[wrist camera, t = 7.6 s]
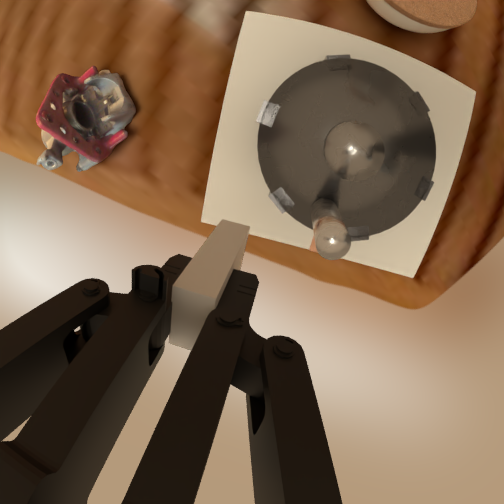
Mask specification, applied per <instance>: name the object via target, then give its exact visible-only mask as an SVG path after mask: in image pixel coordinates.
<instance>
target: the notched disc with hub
mask: <svg viewBox="0 0 504 504" xmlns="http://www.w3.org/2000/svg"><path fill="white" fill-rule="evenodd" d="M429 111H430V109H429V108H428V106H427V104H426V103H425V101H424V100H423V98H422V96H421V95H420V93H419V92H418V91H415V92H414V91H413V90H412V89H411V88H410V87H409V86H408V85H407V84H406V83H405V82H404V81H403V80H402V79H400V78H399V77H398V76H397V75H395V74H394V73H392V72H390V71H389V70H387V69H385V68H383V67H381V66H379V65H376V64H374V63H371V62H367V61H364V60H358V59H352V58H351V57H350V54H349V55H327V56H326V57H325V59H324V60H323V61H319V62H316V63H313V64H311V65H308V66H306V67H304V68H302V69H300V70H299V71H297V72H295V73H294V74H292V75H291V76H290V77H289V78H287V79H286V80H285V81H284V82H283V83H282V84H281V85H280V86H279V87H278V88H277V90H276V91H275V92H274V94H273V95H272V97H271V98H270V100H269V101H266V100H264V102H263V104H262V107H261V109H260V112H259V114H258V117H257V119H256V122H259V123H260V125H259V131H258V141H257V150H258V160H259V164H260V168H261V172H262V175H263V177H264V180H265V183H266V184H267V186H268V188H269V190H270V192H269V195H268V197H269V198H270V199H271V200H272V201H273V203H274V204H275V205H276V206H277V208H278V209H279V210H280V211H281V213H282V214H283V213H284V212H287V213H288V214H289V215H290V216H292V217H293V218H294V219H295V220H297V221H298V222H300V223H301V224H303V225H304V226H306V227H308V228H310V229H312V230H313V231H314V238H315V245H316V249H317V252H318V253H319V254H320V255H321V256H322V257H323V258H325V259H328V260H337V259H340V258H342V257H344V256H345V255H346V254H347V253H348V251H349V249H350V247H351V241H361V240H369V236H371V235H375V234H378V233H381V232H383V231H386V230H388V229H390V228H392V227H393V226H395V225H397V224H398V223H400V222H401V221H402V220H404V219H405V218H406V217H408V216H409V215H410V214H411V213H412V212H413V210H414V209H415V208H416V207H417V206H418V204H419V203H420V202H421V200H424V201H425V200H426V198H427V196H428V194H429V192H430V190H431V188H432V186H433V184H434V182H433V181H431V180H432V177H433V173H434V169H435V162H436V141H435V134H434V130H433V126H432V123H431V120H430V117H429V115H428V113H427V112H429Z"/></svg>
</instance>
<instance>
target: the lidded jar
mask: <svg viewBox="0 0 504 504" xmlns="http://www.w3.org/2000/svg"><path fill="white" fill-rule="evenodd" d="M366 1H367V3H368V4H369V5H370V6H371V8H372V9H373V10H374V11H375V12H376V13H377V14H379V15H380V16H381V17H382V18H383V19H385V20H386V21H388V22H389V23H391V24H393V25H395V26H397V27H400V28H402V29H405V30H408V31H412V32H417V33H435V32H441V31H445V30H448V29H451V28H455V27H458V26H461V25H464V24H465V23H467V22H468V21H470V20H471V18H472V17H473V16H474V14H475V12H476V7H477V0H366Z"/></svg>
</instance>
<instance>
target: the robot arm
mask: <svg viewBox="0 0 504 504" xmlns="http://www.w3.org/2000/svg"><path fill="white" fill-rule="evenodd" d="M249 230H250V226H247V225H243V224H239V223H235V222H232V221H228V220H224V219H222V220H221V221H220V223H219V224H218V225H217V226H216V228H215V229H214V230H213V232H212V233H211V234H210V236H209V237H208V238H207V240H206V241H205V242H204V244H203V245H202V246H201V248H200V249H199V250H198V252H197V253H196V254H195V256H194V257H193V258H191V257H187V256H183V255H180V254H178V255H175V256H173V257H171V258H169V260H168V261H167V262H166V263H165V265H163V266H162V268H160V267H158V266H153V265H141V266H138V267H135V268H134V269H132V290H131V291H130V292H129V293H128V294H121V293H112V292H109V287H108V285H107V284H106V283H105V282H104V281H102V280H100V279H94V278H91V279H85V280H82V281H80V282H78V283H76V284H75V285H73V286H71V287H70V288H68V289H66V290H65V291H63V292H61V293H59V294H58V295H56V296H54V297H53V298H51V299H49V300H48V301H46V302H44V303H43V304H41V305H39V306H38V307H36V308H34V309H33V310H31V311H30V312H28V313H26V314H25V315H23V316H21V317H20V318H18V319H17V320H15V321H14V322H12V323H10V324H9V325H7V326H6V327H4V328H3V329H1V330H0V504H87V500H88V497H89V494H90V492H91V490H92V488H93V486H94V484H95V482H96V480H97V478H98V476H99V474H100V472H101V470H102V468H103V466H104V464H105V462H106V460H107V458H108V456H109V454H110V452H111V450H112V448H113V446H114V444H115V442H116V440H117V438H118V436H119V434H120V433H121V431H122V429H123V427H124V425H125V423H126V421H127V419H128V417H129V415H130V413H131V412H132V410H133V408H134V406H135V404H136V402H137V400H138V398H139V396H140V395H141V393H142V391H143V389H144V387H145V385H146V383H147V381H148V380H149V378H150V376H151V374H152V372H153V370H154V369H155V367H156V364H157V363H158V361H159V360H160V358H161V356H162V354H163V352H164V347H165V346H164V345H165V340H166V338H167V337H168V335H169V343H170V344H173V345H176V346H179V347H182V348H185V349H188V350H191V352H190V354H189V357H188V359H187V361H186V363H185V365H184V367H183V369H182V372H181V374H180V376H179V378H178V380H177V382H176V385H175V387H174V389H173V391H172V393H171V395H170V398H169V400H168V402H167V404H166V406H165V408H164V411H163V413H162V415H161V417H160V419H159V422H158V424H157V426H156V428H155V431H154V433H153V435H152V437H151V439H150V442H149V444H148V446H147V448H146V450H145V453H144V455H143V457H142V459H141V461H140V464H139V466H138V468H137V470H136V473H135V475H134V477H133V479H132V482H131V484H130V486H129V488H128V491H127V493H126V495H125V497H124V500H123V501H122V503H121V504H194V502H195V498H196V495H197V491H198V489H199V486H200V482H201V479H202V476H203V472H204V470H205V466H206V463H207V459H208V456H209V453H210V450H211V447H212V443H213V440H214V437H215V433H216V430H217V427H218V424H219V420H220V417H221V413H222V410H223V407H224V404H225V400H226V397H227V393H228V390H229V387H230V384H231V385H233V386H235V387H236V388H238V389H240V390H241V391H243V392H245V393H246V402H247V415H248V428H249V441H250V452H251V464H252V476H253V486H254V498H255V504H342V500H341V496H340V492H339V487H338V483H337V479H336V475H335V471H334V467H333V463H332V458H331V454H330V450H329V446H328V442H327V438H326V434H325V430H324V426H323V422H322V419H321V415H320V411H319V407H318V403H317V399H316V395H315V391H314V388H313V384H312V380H311V376H310V373H309V369H308V365H307V361H306V358H305V354H304V351H303V349H302V347H301V345H300V344H298V343H297V342H296V341H295V340H293V339H291V338H289V337H285V336H273V337H270V338H268V339H265V338H263V337H261V336H259V335H258V334H257V333H256V332H255V331H254V330H253V329H252V328H251V326H250V324H249V317H250V313H251V309H252V306H253V302H254V299H255V295H256V291H257V288H258V284H259V281H258V279H257V276H256V275H255V274H251V273H247V272H243V271H240V269H241V264H242V260H243V256H244V252H245V247H246V243H247V239H248V234H249ZM79 326H80V330H79V331H76V332H74V330H75V329H76V328H77V327H79ZM31 415H32V416H31ZM30 416H31V417H30ZM29 417H30V418H29ZM28 418H29V420H28V421H27V423H26V424H25V426H24V427H23V429H22V430H21V431H20V433H19V434H18V436H17V437H16V438H15V439H14V440H13V441H2V440H3V439H4V438H6V437H7V436H8V435H9V434H10V433H11V432H13V431H14V430H15V429H16V428H17V427H18V426H20V425H21V424H22V423H23V422H24V421H25V420H27V419H28ZM1 441H2V442H1Z"/></svg>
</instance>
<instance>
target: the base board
mask: <svg viewBox="0 0 504 504" xmlns="http://www.w3.org/2000/svg"><path fill="white" fill-rule="evenodd" d="M349 54H350V57H351V58H352V59H358V60H364V61H367V62H371V63H374V64H376V65H379V66H381V67H383V68H385V69H387V70H389V71H390V72H392V73H394V74H395V75H397V76H398V77H399V78H400V79H402V80H403V81H404V82H405V83H406V84H407V85H408V86H409V87H410V88H411V89H412V90H413V91H414V92H415V91H418V92H419V93H420V95H421V96H422V98H423V100H424V101H425V103H426V104H427V106H428V108H429V109H430V111H429V112H427V113H428V115H429V117H430V120H431V123H432V126H433V130H434V134H435V141H436V162H435V169H434V173H433V177H432V180H431V181H433V182H434V184H433V186H432V188H431V190H430V192H429V194H428V196H427V198H426V200H425V201H424V200H421V202H420V203H419V204H418V206H417V207H416V208H415V209H414V210H413V212H412V213H411V214H410V215H409V216H408V217H406V218H405V219H404V220H402V221H401V222H400V223H398V224H397V225H395V226H393V227H392V228H390V229H388V230H386V231H383V232H381V233H378V234H375V235H371V236H369V240H361V241H351V247H350V249H349V251H348V253H347V254H346V255H345V256H344V257H342V259H346V260H350V261H353V262H357V263H361V264H364V265H368V266H372V267H375V268H379V269H382V270H386V271H390V272H393V273H397V274H400V275H404V276H407V277H411V278H414V275H415V273H416V271H417V269H418V267H419V265H420V263H421V261H422V259H423V256H424V254H425V252H426V250H427V247H428V245H429V243H430V240H431V238H432V236H433V233H434V231H435V229H436V226H437V224H438V221H439V219H440V216H441V213H442V211H443V208H444V205H445V203H446V200H447V197H448V194H449V192H450V189H451V186H452V183H453V180H454V177H455V174H456V171H457V167H458V164H459V161H460V157H461V154H462V150H463V147H464V143H465V140H466V136H467V132H468V128H469V124H470V119H471V115H472V110H473V106H474V101H475V96H476V91H474V90H472V89H471V88H469V87H467V86H466V85H464V84H462V83H461V82H459V81H457V80H455V79H454V78H452V77H450V76H448V75H446V74H445V73H443V72H441V71H439V70H437V69H435V68H433V67H431V66H429V65H427V64H425V63H423V62H421V61H419V60H417V59H414V58H412V57H410V56H408V55H405V54H403V53H401V52H398V51H396V50H394V49H391V48H389V47H386V46H384V45H381V44H378V43H376V42H373V41H370V40H368V39H365V38H362V37H359V36H356V35H353V34H350V33H346V32H343V31H340V30H337V29H333V28H329V27H326V26H322V25H318V24H314V23H310V22H306V21H302V20H297V19H292V18H287V17H282V16H277V15H271V14H265V13H258V12H251V11H246V13H245V17H244V20H243V24H242V28H241V32H240V35H239V39H238V43H237V47H236V51H235V55H234V59H233V63H232V67H231V72H230V76H229V80H228V84H227V89H226V93H225V98H224V102H223V107H222V111H221V116H220V121H219V126H218V131H217V135H216V140H215V145H214V151H213V156H212V161H211V166H210V172H209V177H208V183H207V188H206V194H205V200H204V206H203V212H202V218H201V222H204V223H208V224H212V225H216V226H217V225H218V224H219V223H220V221H221V220H222V219H224V220H228V221H232V222H235V223H239V224H243V225H247V226H250V230H249V234H251V235H255V236H259V237H263V238H267V239H270V240H274V241H278V242H282V243H286V244H290V245H293V246H297V247H301V248H305V249H309V251H313V252H317V249H316V245H315V238H314V231H313V230H312V229H310V228H308V227H306V226H304V225H303V224H301V223H300V222H298V221H297V220H295V219H294V218H293V217H292V216H290V215H289V214H288V213H287V212H284V213H283V214H282V213H281V211H280V210H279V209H278V208H277V206H276V205H275V204H274V203H273V201H272V200H271V199H270V198H269V197H268V195H269V192H270V190H269V188H268V186H267V184H266V183H265V180H264V177H263V175H262V172H261V168H260V164H259V160H258V150H257V141H258V131H259V125H260V123H259V122H256V119H257V117H258V114H259V112H260V109H261V107H262V104H263V102H264V100H266V101H269V100H270V98H271V97H272V95H273V94H274V92H275V91H276V90H277V88H278V87H279V86H280V85H281V84H282V83H283V82H284V81H285V80H286V79H287V78H289V77H290V76H291V75H292V74H294V73H295V72H297V71H299V70H300V69H302V68H304V67H306V66H308V65H311V64H313V63H316V62H319V61H323V60H324V59H325V57H326V56H327V55H349ZM317 253H318V252H317Z"/></svg>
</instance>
